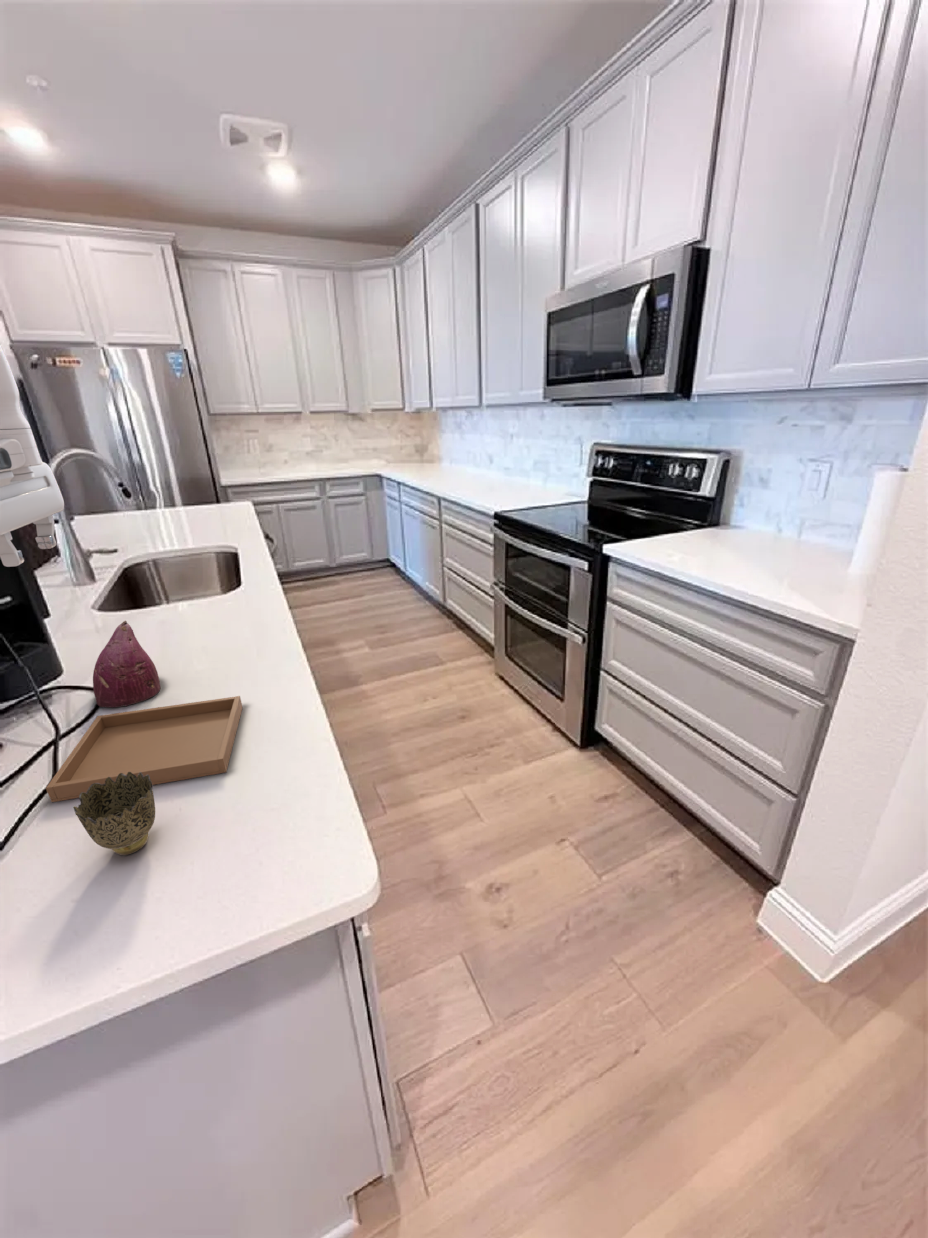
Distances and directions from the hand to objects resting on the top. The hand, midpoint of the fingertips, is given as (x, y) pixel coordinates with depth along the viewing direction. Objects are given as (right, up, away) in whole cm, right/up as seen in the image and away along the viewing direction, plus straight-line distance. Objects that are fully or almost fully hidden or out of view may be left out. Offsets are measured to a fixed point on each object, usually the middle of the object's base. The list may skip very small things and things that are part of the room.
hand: (32, 556), depth 72 cm
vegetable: (-1, -23, +22) cm, 31 cm away
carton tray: (+14, -29, +6) cm, 33 cm away
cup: (+21, -36, -11) cm, 43 cm away
